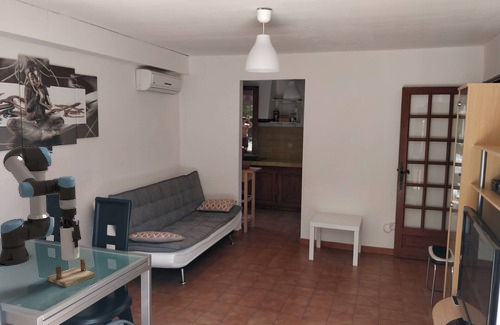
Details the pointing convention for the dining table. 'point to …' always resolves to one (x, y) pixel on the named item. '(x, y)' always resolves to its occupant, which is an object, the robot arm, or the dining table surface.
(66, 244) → the cup
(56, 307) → the dining table surface
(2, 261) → the robot arm
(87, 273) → the peg board
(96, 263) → the dining table surface
